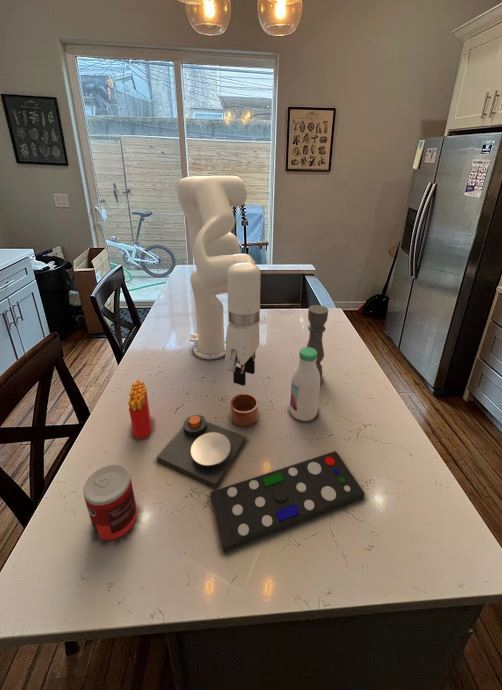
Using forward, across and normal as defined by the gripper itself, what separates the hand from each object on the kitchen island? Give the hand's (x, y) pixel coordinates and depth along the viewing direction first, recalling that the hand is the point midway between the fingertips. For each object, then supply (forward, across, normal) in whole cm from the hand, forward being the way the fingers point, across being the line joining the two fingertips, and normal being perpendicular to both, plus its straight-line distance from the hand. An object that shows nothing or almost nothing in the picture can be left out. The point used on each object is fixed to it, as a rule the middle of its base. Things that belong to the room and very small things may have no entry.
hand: (244, 377), depth 85 cm
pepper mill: (+14, -24, +12) cm, 30 cm away
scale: (+13, +14, -4) cm, 20 cm away
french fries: (+14, +15, -22) cm, 30 cm away
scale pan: (+10, +15, -1) cm, 18 cm away
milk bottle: (+14, -9, +14) cm, 21 cm away
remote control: (+14, +16, +19) cm, 28 cm away
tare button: (+11, +10, -9) cm, 17 cm away
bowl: (+13, 0, 0) cm, 13 cm away
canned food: (+14, +35, -10) cm, 39 cm away
